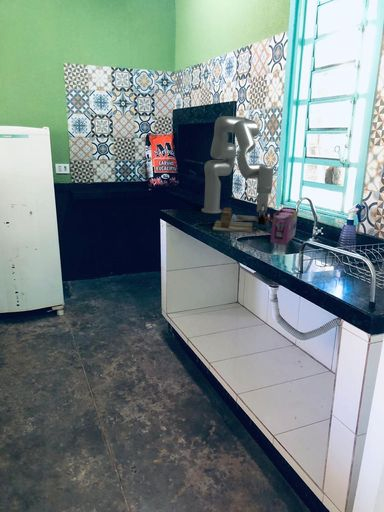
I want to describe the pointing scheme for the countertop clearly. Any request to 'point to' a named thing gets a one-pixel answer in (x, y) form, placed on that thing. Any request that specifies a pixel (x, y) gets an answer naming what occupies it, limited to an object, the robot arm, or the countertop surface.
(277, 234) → the gum box
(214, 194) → the robot arm
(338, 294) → the countertop surface
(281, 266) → the countertop surface
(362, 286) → the countertop surface
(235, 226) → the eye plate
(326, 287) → the countertop surface
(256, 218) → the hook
